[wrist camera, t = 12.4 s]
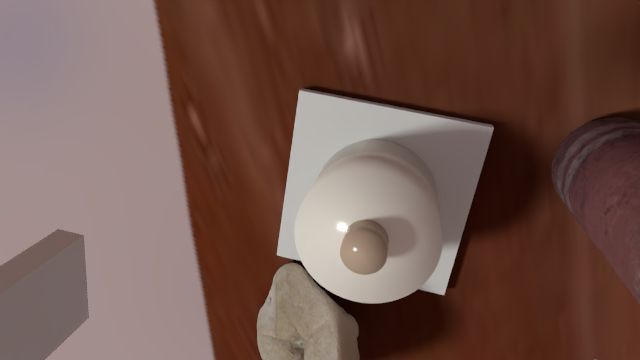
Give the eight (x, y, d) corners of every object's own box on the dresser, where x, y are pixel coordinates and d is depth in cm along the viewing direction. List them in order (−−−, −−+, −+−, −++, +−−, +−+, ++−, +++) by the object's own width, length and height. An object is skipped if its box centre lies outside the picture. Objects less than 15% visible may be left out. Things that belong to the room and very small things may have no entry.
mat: (302, 88, 30) (299, 90, 30) (492, 124, 29) (493, 128, 28) (279, 249, 35) (276, 255, 34) (443, 288, 33) (444, 295, 33)
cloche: (325, 128, 30) (298, 164, 23) (451, 154, 29) (463, 200, 22) (307, 238, 33) (278, 300, 26) (421, 264, 32) (423, 336, 25)
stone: (242, 267, 38) (257, 281, 28) (324, 248, 39) (364, 256, 30) (267, 399, 37) (291, 461, 27) (349, 375, 39) (398, 424, 29)
